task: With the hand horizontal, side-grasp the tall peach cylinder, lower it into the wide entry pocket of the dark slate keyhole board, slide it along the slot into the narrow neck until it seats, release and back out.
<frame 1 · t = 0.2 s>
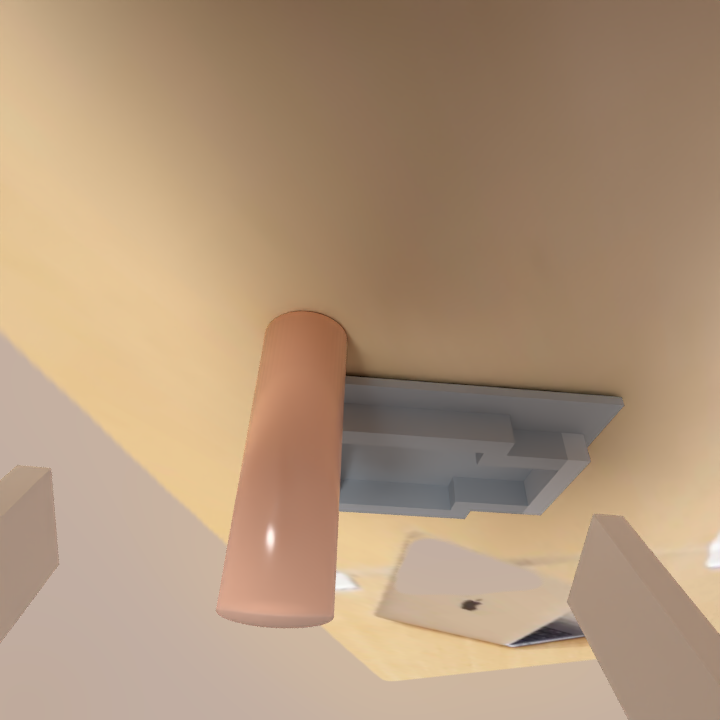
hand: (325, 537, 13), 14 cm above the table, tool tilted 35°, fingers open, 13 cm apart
keyhole board: (441, 449, 38), on the table
tall peach cylinder: (306, 339, 29), on the table
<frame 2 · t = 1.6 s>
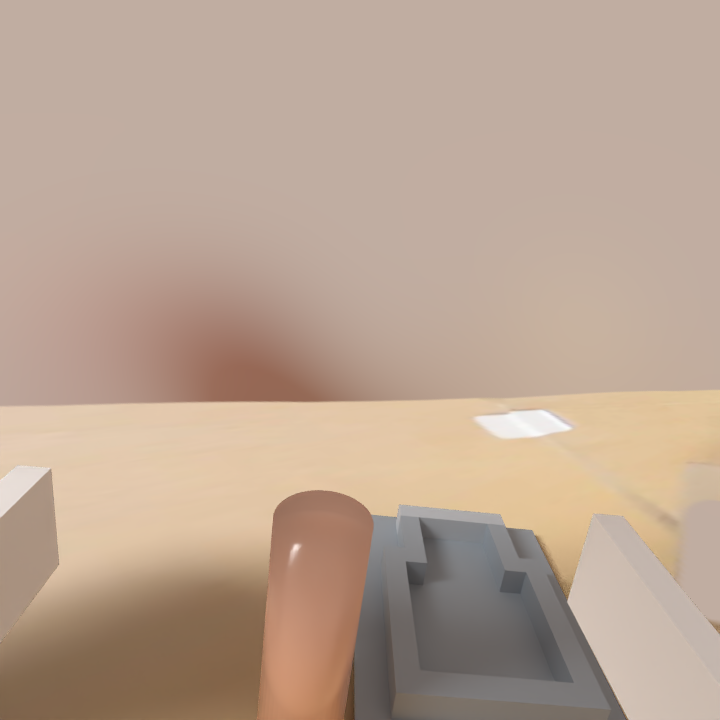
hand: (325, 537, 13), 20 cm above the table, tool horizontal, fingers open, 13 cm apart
keyhole board: (463, 610, 38), on the table
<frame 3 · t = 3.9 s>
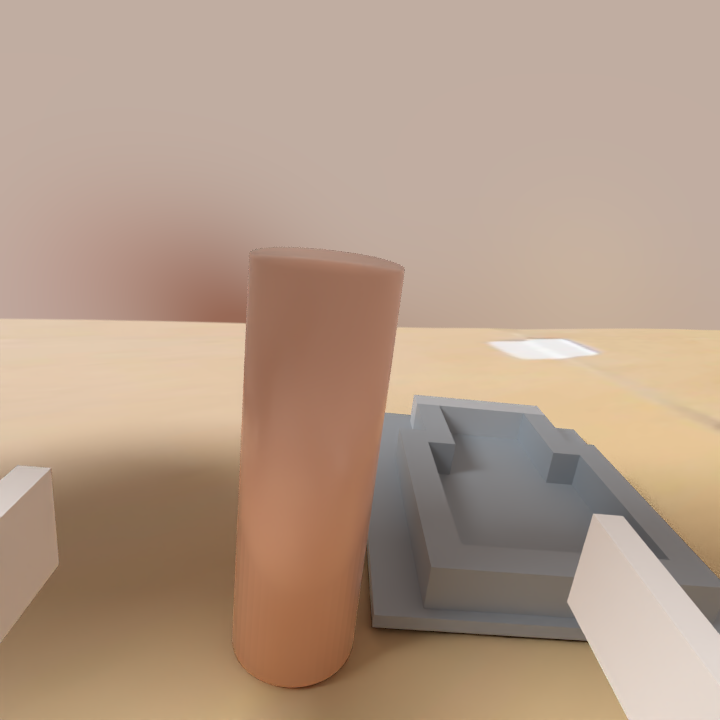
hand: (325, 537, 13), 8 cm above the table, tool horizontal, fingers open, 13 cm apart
keyhole board: (503, 502, 30), on the table
tall peach cylinder: (293, 633, 20), on the table
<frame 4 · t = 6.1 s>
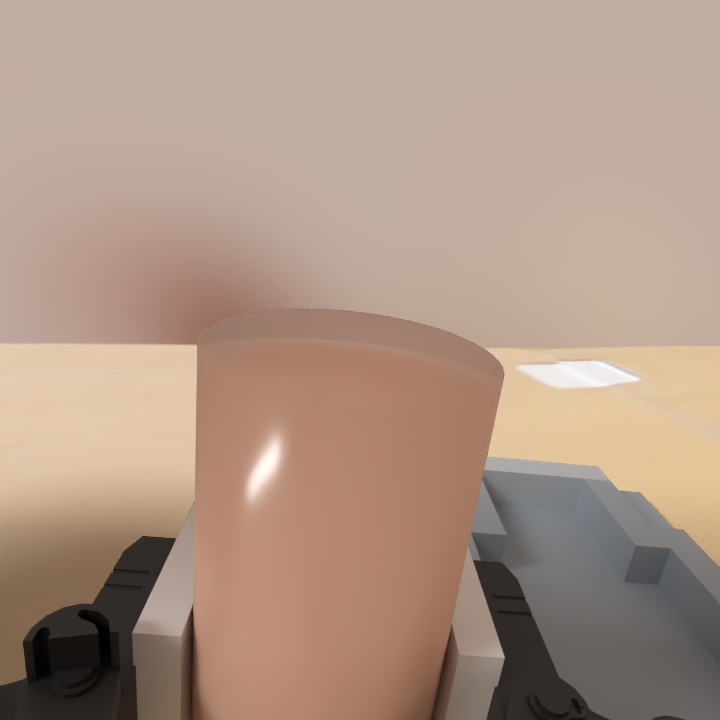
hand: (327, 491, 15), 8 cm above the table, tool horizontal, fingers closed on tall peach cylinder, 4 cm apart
keyhole board: (571, 613, 23), on the table
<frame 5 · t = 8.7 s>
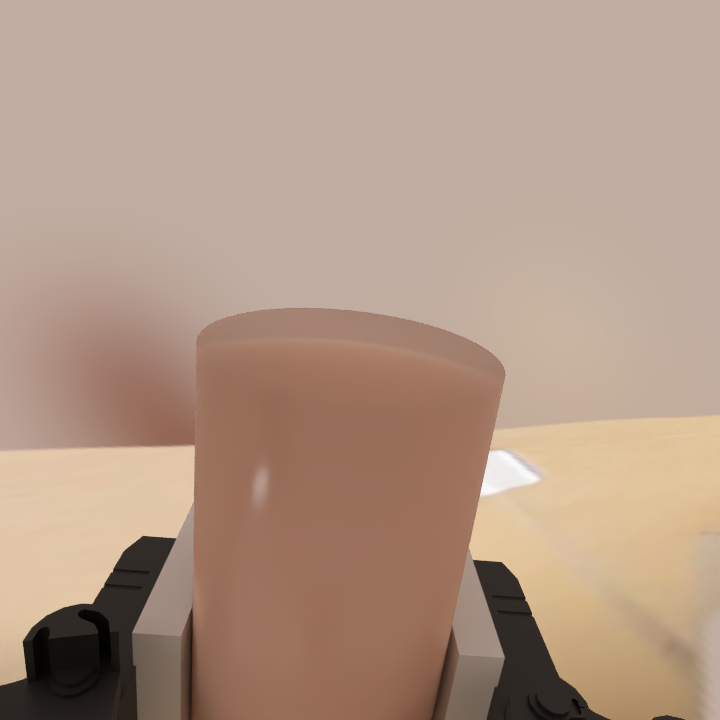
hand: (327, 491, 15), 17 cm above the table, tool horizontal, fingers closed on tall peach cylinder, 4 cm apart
when the fingers open (9 cm above the table, at t = 11.5 s): tall peach cylinder stays where it is, resting on keyhole board.
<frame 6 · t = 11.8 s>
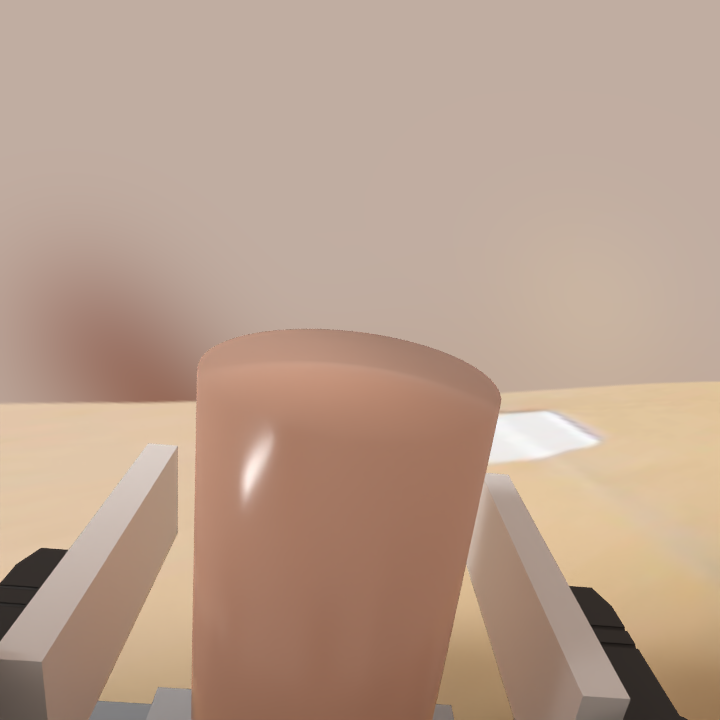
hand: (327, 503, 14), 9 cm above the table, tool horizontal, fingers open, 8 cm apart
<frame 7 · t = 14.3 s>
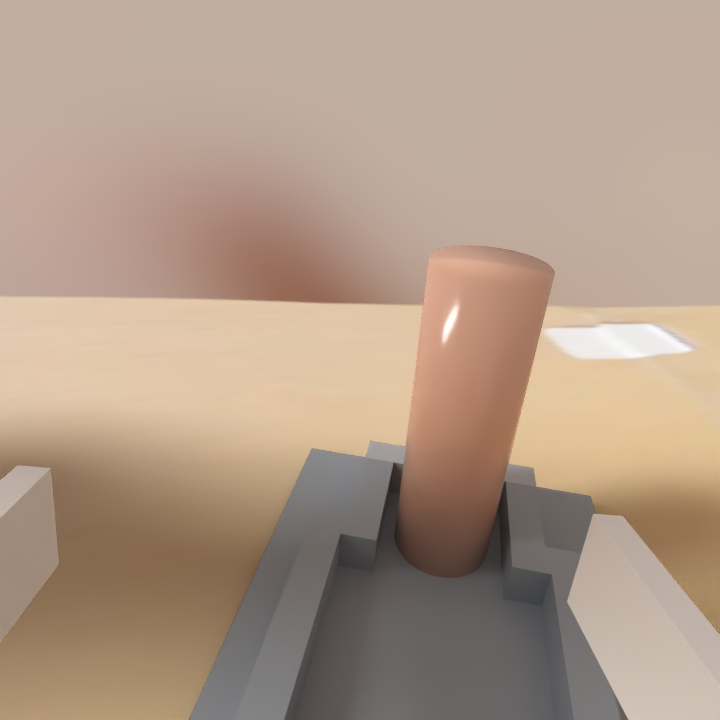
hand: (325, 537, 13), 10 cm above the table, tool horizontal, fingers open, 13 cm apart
keyhole board: (433, 623, 23), on the table
tall peach cylinder: (440, 539, 26), point 1 cm above the table, touching keyhole board
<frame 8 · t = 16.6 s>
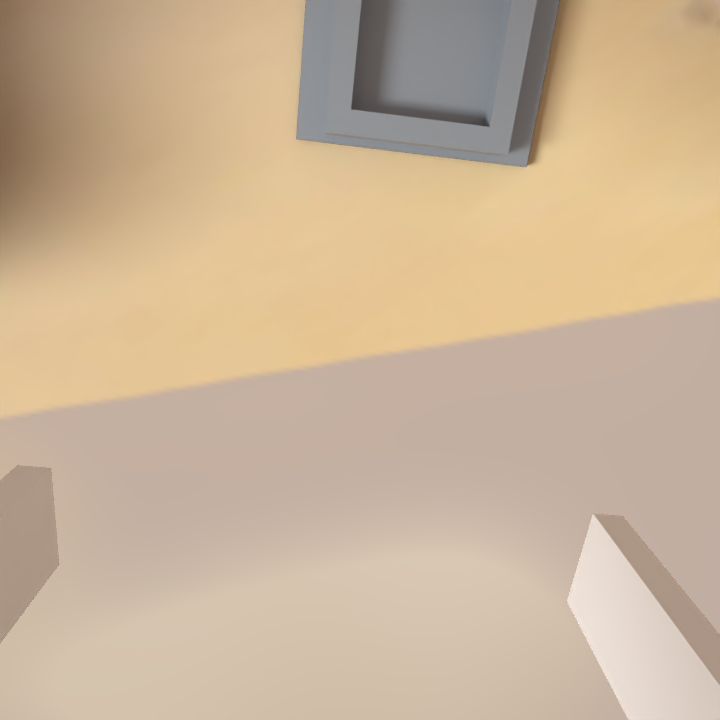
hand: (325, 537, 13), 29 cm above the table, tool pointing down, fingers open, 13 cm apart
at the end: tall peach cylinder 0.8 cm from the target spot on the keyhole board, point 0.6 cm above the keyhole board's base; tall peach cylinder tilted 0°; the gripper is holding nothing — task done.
